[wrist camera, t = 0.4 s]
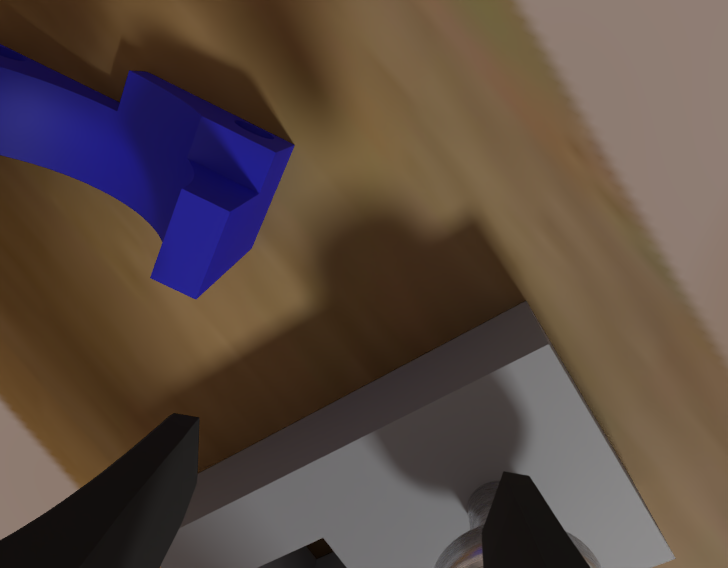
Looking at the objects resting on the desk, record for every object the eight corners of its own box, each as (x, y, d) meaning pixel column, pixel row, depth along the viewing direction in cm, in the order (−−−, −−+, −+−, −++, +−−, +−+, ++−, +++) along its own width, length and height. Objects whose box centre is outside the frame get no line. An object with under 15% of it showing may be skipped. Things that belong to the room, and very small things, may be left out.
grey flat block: (301, 622, 28) (283, 703, 25) (182, 481, 26) (142, 546, 22) (635, 485, 24) (675, 558, 20) (526, 300, 22) (548, 343, 18)
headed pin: (528, 582, 21) (559, 722, 16) (405, 529, 21) (401, 656, 16) (602, 484, 19) (661, 608, 15) (470, 424, 19) (487, 532, 14)
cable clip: (295, 144, 21) (249, 163, 15) (253, 247, 22) (195, 299, 17) (-3, -4, 20) (-168, -42, 14) (-26, 113, 22) (-184, 120, 16)
